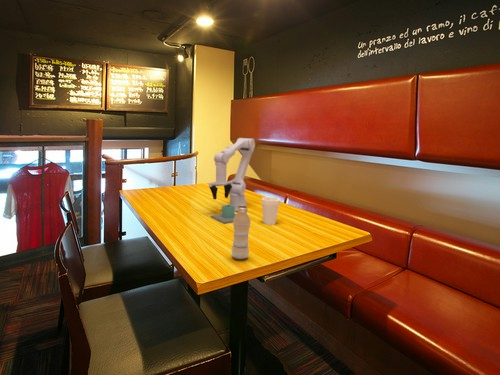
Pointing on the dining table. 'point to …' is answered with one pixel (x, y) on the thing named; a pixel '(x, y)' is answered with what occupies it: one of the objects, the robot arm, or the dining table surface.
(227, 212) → the sleeve
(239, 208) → the plastic bottle
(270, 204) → the foam cup
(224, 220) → the stub board
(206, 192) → the dining table surface
